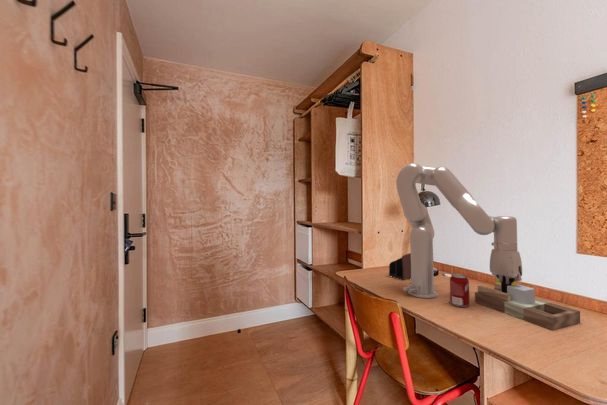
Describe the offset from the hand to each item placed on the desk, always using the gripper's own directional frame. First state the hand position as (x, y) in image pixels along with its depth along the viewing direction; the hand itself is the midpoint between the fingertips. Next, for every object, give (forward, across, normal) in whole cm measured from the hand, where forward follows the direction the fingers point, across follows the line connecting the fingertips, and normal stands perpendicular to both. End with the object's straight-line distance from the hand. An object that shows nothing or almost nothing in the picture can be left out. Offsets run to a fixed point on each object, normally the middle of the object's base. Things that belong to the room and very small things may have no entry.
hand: (506, 292), depth 108 cm
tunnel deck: (+5, +6, 0) cm, 8 cm away
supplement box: (+6, -11, +16) cm, 20 cm away
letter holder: (+6, -51, -5) cm, 51 cm away
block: (+1, +6, 0) cm, 6 cm away
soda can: (+5, -8, -16) cm, 19 cm away
